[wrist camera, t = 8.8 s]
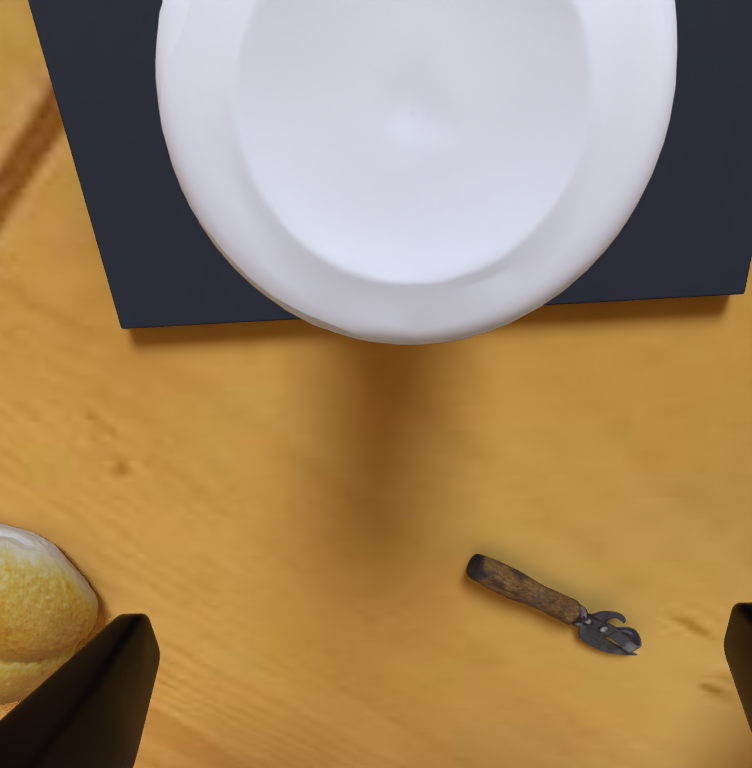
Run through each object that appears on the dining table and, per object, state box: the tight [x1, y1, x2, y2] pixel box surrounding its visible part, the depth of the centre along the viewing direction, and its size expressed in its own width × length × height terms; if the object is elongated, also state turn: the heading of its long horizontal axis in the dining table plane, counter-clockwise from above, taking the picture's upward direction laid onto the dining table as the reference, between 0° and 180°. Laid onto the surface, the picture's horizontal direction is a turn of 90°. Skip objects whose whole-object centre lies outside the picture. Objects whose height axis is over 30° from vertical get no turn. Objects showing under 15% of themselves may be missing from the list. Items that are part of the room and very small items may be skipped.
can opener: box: [467, 554, 642, 655], centre depth 26 cm, size 9×2×1 cm, turn 54°
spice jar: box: [155, 0, 677, 345], centre depth 11 cm, size 5×5×13 cm
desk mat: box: [28, 0, 752, 329], centre depth 18 cm, size 14×20×1 cm
